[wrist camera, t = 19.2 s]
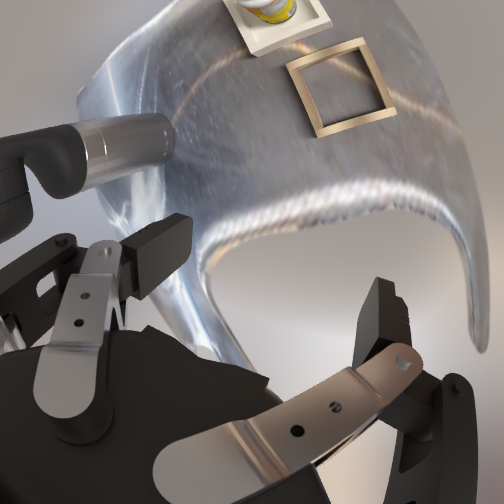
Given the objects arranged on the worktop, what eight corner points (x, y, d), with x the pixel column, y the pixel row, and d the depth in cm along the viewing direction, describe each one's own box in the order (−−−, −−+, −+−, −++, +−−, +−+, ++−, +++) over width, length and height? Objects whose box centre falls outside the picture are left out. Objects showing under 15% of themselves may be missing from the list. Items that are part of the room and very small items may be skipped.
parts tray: (258, 57, 32) (251, 53, 30) (229, 1, 29) (220, -4, 27) (333, 27, 26) (330, 20, 24) (297, -30, 23) (292, -37, 21)
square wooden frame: (320, 137, 34) (317, 138, 32) (289, 66, 31) (285, 64, 30) (396, 115, 29) (397, 114, 27) (362, 40, 26) (362, 37, 24)
